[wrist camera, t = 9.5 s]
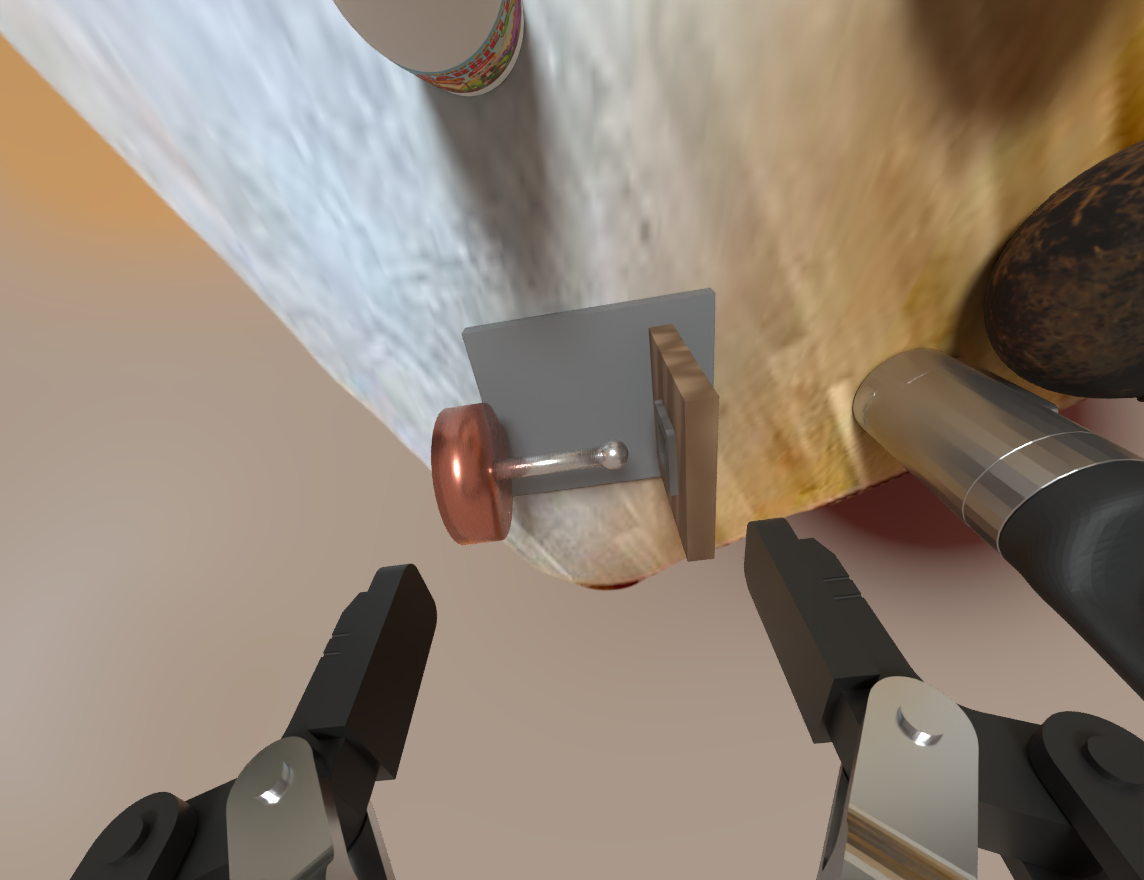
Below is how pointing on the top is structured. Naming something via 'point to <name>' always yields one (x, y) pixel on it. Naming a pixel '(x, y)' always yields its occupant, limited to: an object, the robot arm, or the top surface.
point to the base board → (584, 381)
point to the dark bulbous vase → (1077, 286)
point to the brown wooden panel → (685, 439)
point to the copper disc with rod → (492, 471)
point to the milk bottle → (443, 38)
